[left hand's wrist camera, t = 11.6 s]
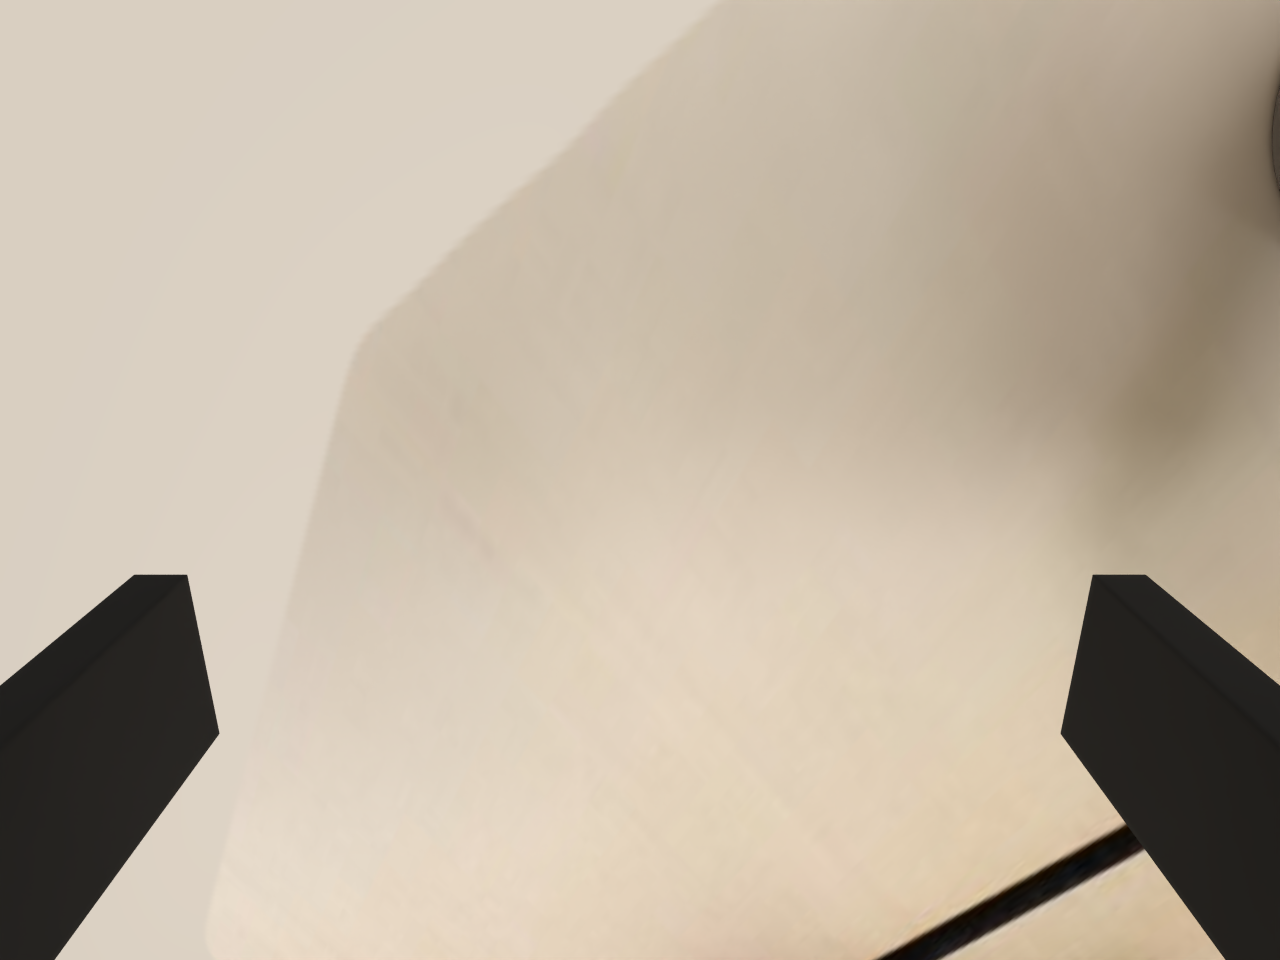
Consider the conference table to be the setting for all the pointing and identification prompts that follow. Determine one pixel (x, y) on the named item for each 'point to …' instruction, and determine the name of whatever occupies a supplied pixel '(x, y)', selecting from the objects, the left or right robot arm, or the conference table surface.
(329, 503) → the conference table surface
